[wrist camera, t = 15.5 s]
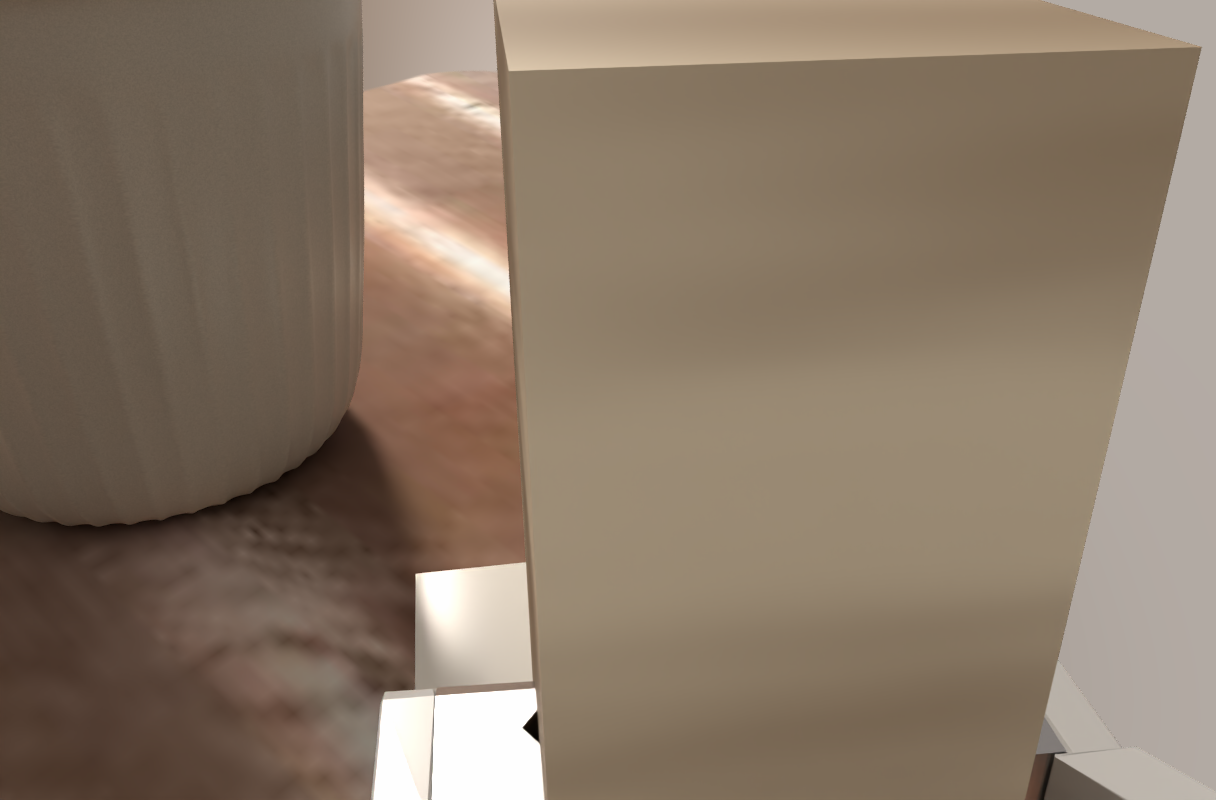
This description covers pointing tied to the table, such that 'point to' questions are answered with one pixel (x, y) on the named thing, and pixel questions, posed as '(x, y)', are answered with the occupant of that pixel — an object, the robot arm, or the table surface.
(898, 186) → the block
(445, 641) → the tile
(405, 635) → the table surface
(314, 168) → the canister
